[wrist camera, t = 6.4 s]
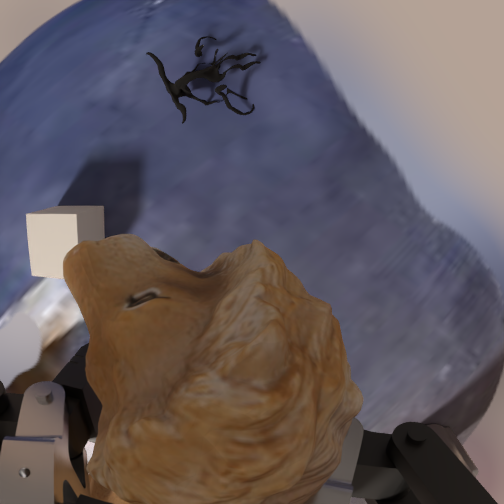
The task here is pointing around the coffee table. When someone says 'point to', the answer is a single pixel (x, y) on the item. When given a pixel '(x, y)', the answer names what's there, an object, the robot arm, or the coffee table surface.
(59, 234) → the beige block
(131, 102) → the coffee table surface
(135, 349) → the lion figurine
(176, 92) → the creature
